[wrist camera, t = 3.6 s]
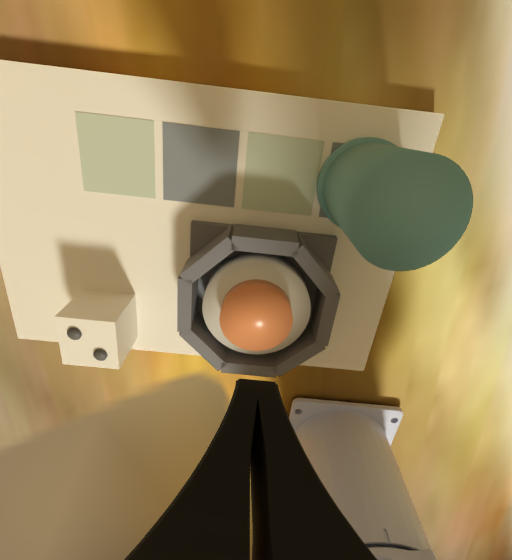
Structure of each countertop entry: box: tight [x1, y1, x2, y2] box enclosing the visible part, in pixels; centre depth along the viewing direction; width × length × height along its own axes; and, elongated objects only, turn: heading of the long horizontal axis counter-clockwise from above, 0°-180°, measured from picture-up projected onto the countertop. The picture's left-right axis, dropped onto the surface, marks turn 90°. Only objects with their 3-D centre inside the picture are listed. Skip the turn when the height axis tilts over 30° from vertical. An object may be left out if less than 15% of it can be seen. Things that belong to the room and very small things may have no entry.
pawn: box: [317, 137, 473, 271], centre depth 14 cm, size 4×4×6 cm
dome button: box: [202, 252, 311, 354], centre depth 17 cm, size 6×6×2 cm
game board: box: [0, 60, 445, 377], centre depth 17 cm, size 15×22×4 cm
